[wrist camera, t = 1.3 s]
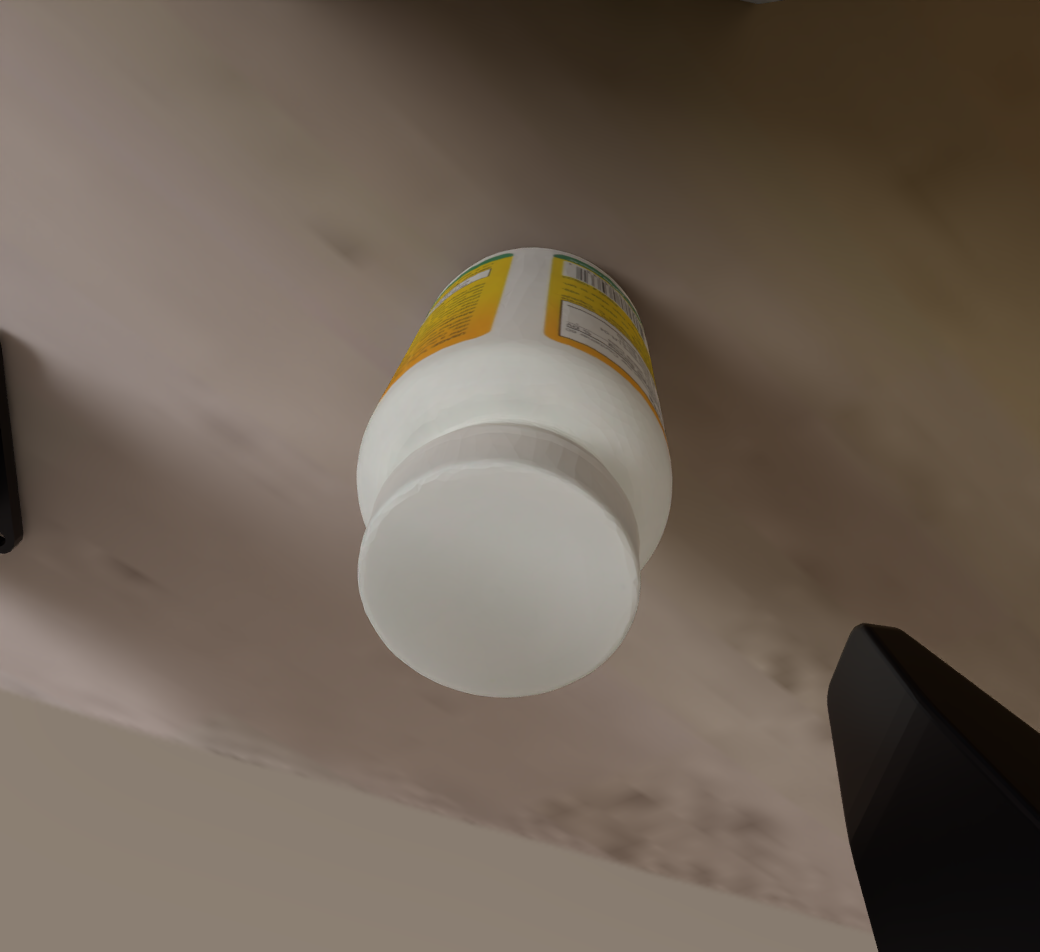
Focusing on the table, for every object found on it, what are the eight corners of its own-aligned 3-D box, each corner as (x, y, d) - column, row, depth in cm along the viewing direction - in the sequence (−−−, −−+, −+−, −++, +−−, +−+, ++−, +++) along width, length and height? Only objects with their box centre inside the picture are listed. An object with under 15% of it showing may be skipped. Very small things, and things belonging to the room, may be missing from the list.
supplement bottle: (656, 247, 19) (724, 425, 10) (635, 461, 21) (675, 746, 13) (416, 237, 19) (290, 403, 11) (423, 450, 22) (324, 723, 13)
